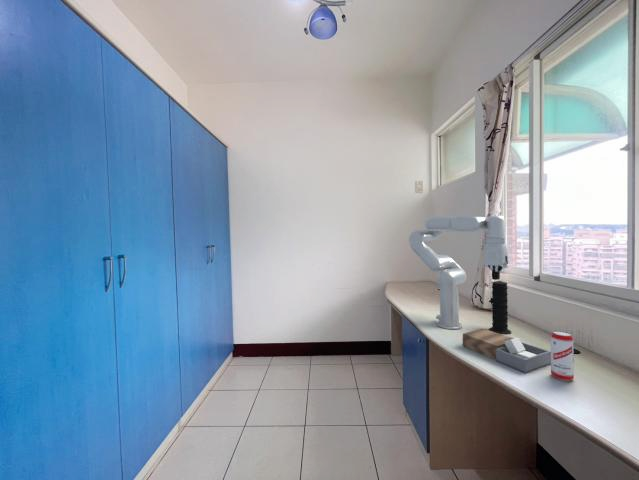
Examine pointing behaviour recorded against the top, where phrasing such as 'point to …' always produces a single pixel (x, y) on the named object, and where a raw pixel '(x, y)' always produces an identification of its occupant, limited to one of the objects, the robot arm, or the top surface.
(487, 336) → the wooden plinth
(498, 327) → the handle grip
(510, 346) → the tile rear
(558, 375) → the beer can
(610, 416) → the top surface
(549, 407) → the top surface
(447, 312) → the robot arm
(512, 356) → the tray
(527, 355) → the tile front
